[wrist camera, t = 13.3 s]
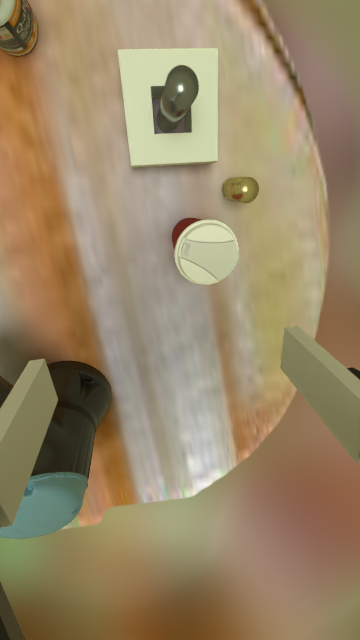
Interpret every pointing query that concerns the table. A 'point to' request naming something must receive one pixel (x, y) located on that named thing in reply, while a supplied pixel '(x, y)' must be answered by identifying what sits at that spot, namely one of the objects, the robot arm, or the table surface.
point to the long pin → (177, 97)
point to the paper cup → (204, 250)
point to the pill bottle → (17, 27)
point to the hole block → (148, 82)
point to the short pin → (240, 189)
